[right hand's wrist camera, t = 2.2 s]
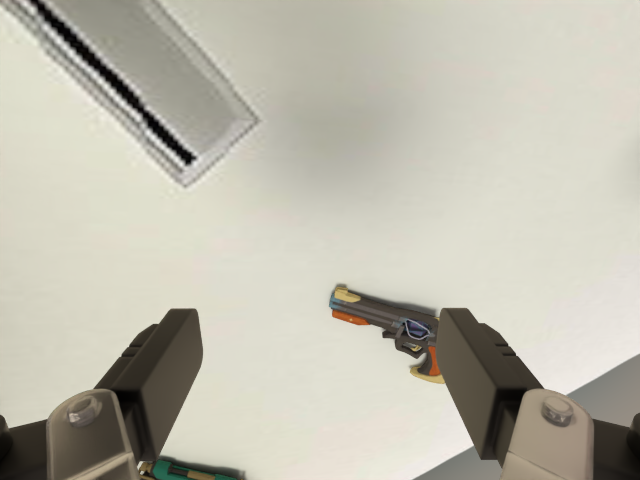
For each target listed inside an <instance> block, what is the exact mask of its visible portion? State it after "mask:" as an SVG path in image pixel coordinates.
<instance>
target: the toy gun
mask: <svg viewBox="0 0 640 480" xmlns="http://www.w3.org/2000/svg"><path fill="white" fill-rule="evenodd" d="M347 290H348V288H342V287H336V289H335V294H332V296H331V300H330V304H329V307H331V309H333V312H332V316H333V317H334V318H337V319H340V320H343V321H347V322H350V323H353V324H356V325H370V324H372V325H375V326H378V327H382V328H384V329H386V331H384V332H382V335H383V338H392V339H396V340H395V347H396V349H397V350H399V351H402V352H405V353H407V354H409V355H411V356H412V357H414V358H416V359H418V358H419V357H420V356H421V355H422V354H423V353H428V359H427V361H426V362H425V364H424V365H423V366H421V367H413V368H412V369H411V370H410V373H411V374H412V375H413V376H416V377H418V378H420V379H423V380H426V381H429V382H433V383H439V384H444V383H445V381H444V379H443V377H442V375H441V373H440V370H439V368H438V366H437V362H436V355H435V347H436V340H437V332H438V325H439V318H437V317H434V316H431V315H428V314H424V313H421V312H418V311H414V310H408V309H401V308H395V307H391V306H388V305H384V304H381V303H378V302H375V301H372V300H369V299H365V298H362V297H360V296H358V295H355V294H351V293H348V291H347ZM428 324H429V325H430V326H429V327H428ZM403 329H404V330H406V331H403ZM425 332H426V333H425ZM424 333H425V335H424V336H422V335H423V334H424ZM406 342H408V343H412V344H415V345H417V346H416V347H415V348H411V349H410V348H409V347H407V346H404V345H403V344H404V343H406ZM418 346H419V347H418ZM421 347H422V348H421ZM420 348H421V349H420ZM418 349H420V350H418ZM416 350H418V351H416Z"/></svg>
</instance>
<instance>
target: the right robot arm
mask: <svg viewBox="0 0 640 480" xmlns="http://www.w3.org/2000/svg"><path fill="white" fill-rule="evenodd" d="M435 355H436V362H437V366H438V368H439V370H440V373H441V375H442V377H443V379H444V381H445V383H446V386H447V388H448V390H449V392H450V394H451V396H452V398H453V401H454V403H455V405H456V407H457V409H458V411H459V414H460V416H461V418H462V420H463V422H464V424H465V426H466V429H467V431H468V433H469V435H470V437H471V439H472V442H473V444H474V446H475V448H476V450H477V452H478V454H479V457H480V459H481V460H498V462H499V464H500V466H501V468H502V472H501V476H500V480H640V413H638V414H636V415H635V416H634V419H633V421H632V424H631V426H630V428H629V427H625V426H621V425H617V424H612V423H608V422H604V421H600V420H596V419H592V418H591V416H590V414H589V413H588V412H587V411H586V410H585V409H584V408H583V407H582V406H581V405H580V404H578V403H577V402H576V401H574V400H572V399H571V398H569V397H567V396H565V395H563V394H561V393H558V392H555V391H552V390H547V389H544V388H543V386H542V385H541V384H540V383H539V381H538V380H537V379H536V378H535V376H534V375H533V374H532V373H531V372H530V370H529V369H528V368H527V367H526V365H525V364H524V363H523V362H522V361H521V359H520V358H519V357H518V356H516V353H515V352H514V351H513V349H512V348H511V347H509V346H508V343H507V342H506V341H505V340H504V338H503V337H502V336H501V335H500V334H499V333H498V332H497V331H495V330H494V329H492V328H491V327H489V326H488V325H486V324H485V323H478V321H477V320H476V319H475V317H474V316H473V315H472V313H471V312H470V311H469V310H468V309H467V308H443V309H442V310H441V312H440V318H439V325H438V332H437V340H436V347H435ZM202 358H203V346H202V339H201V332H200V324H199V317H198V312H197V310H196V309H170V310H169V311H168V313H167V314H166V315H165V317H164V318H163V319H162V321H161V322H160V323H159V324H152V325H151V326H149V327H148V328H146V329H145V330H143V331H142V332H141V333H139V334H138V335H137V336H136V338H135V339H134V340H133V341H132V342H131V344H130V345H129V347H127V349H126V350H125V351H124V352H123V353H122V356H121V357H119V358H118V359H117V361H116V362H115V363H114V364H113V366H112V367H111V368H110V369H109V370H108V372H107V373H106V374H105V375H104V377H103V378H102V379H101V380H100V381H99V383H98V384H97V385H96V386H95V387H94V389H93V390H88V391H85V392H82V393H79V394H77V395H75V396H73V397H71V398H69V399H67V400H66V401H64V402H63V403H62V404H60V405H59V406H58V407H57V408H56V409H55V410H54V411H53V412H52V413H51V414H50V416H49V418H48V419H46V420H43V421H38V422H34V423H30V424H26V425H22V426H17V427H13V428H8V426H7V423H6V421H5V418H4V417H3V416H2V415H0V480H140V476H139V472H138V469H137V466H138V464H139V462H140V461H157V459H158V457H159V455H160V452H161V450H162V448H163V446H164V444H165V442H166V440H167V438H168V435H169V433H170V431H171V429H172V427H173V425H174V423H175V421H176V418H177V416H178V414H179V412H180V410H181V408H182V406H183V403H184V401H185V399H186V397H187V395H188V393H189V391H190V389H191V386H192V384H193V382H194V380H195V378H196V376H197V374H198V372H199V369H200V367H201V364H202Z"/></svg>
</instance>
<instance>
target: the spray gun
mask: <svg viewBox="0 0 640 480" xmlns="http://www.w3.org/2000/svg"><path fill="white" fill-rule="evenodd" d="M141 471H145V473H144V474H143V475H141V474H140V472H141ZM138 472H139V476H140V478H141V479H140V480H237V479H235V478H231V477H228V476H224V475H220V474H215V475H213V474H209V473H205V472H200V471H196V470H192V469H187V468H183V467H179V466H175V465H173V464H172V463H171V462H166V461H162V460H158V461H154V463H153V464H149V463H146V462H143V463H142V465H141V467H140V468H139V470H138ZM241 480H243V479H241Z"/></svg>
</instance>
